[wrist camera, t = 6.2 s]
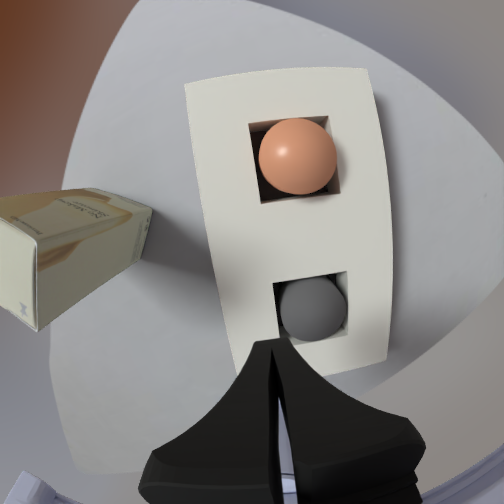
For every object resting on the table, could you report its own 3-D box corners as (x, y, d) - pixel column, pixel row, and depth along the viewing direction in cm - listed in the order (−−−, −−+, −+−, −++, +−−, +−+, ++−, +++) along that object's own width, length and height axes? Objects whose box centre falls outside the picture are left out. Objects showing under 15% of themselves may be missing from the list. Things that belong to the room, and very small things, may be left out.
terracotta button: (327, 188, 18) (341, 190, 15) (263, 197, 18) (266, 199, 15) (318, 126, 17) (330, 115, 14) (253, 132, 17) (253, 122, 14)
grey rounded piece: (335, 316, 21) (345, 335, 18) (281, 325, 21) (285, 346, 18) (332, 264, 20) (344, 277, 17) (274, 273, 20) (277, 288, 17)
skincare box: (155, 207, 19) (43, 242, 7) (141, 260, 20) (42, 339, 8) (88, 185, 19) (-32, 199, 7) (78, 235, 20) (-32, 280, 8)
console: (373, 342, 22) (386, 360, 19) (241, 365, 22) (240, 387, 19) (352, 82, 17) (366, 68, 14) (193, 97, 17) (184, 84, 14)
